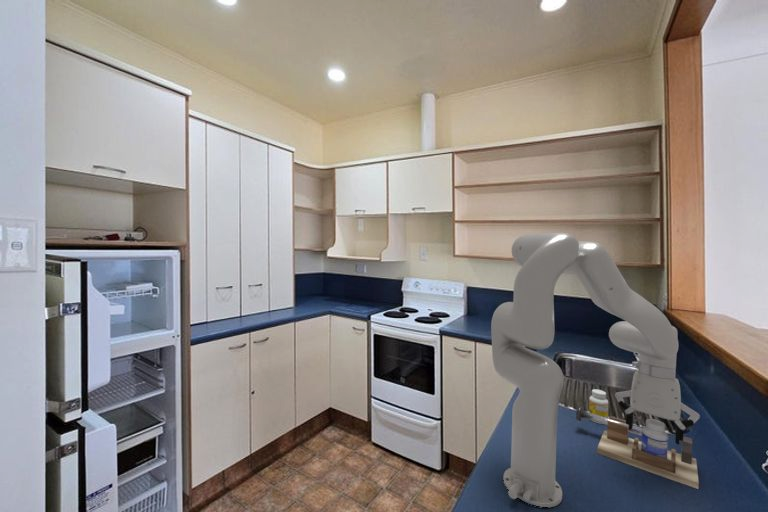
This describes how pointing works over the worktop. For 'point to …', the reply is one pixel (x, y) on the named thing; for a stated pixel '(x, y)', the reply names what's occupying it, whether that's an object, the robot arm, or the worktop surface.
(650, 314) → the robot arm
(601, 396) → the supplement bottle
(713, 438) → the worktop surface
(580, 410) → the steel shaft
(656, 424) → the pill bottle
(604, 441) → the shaft bracket
